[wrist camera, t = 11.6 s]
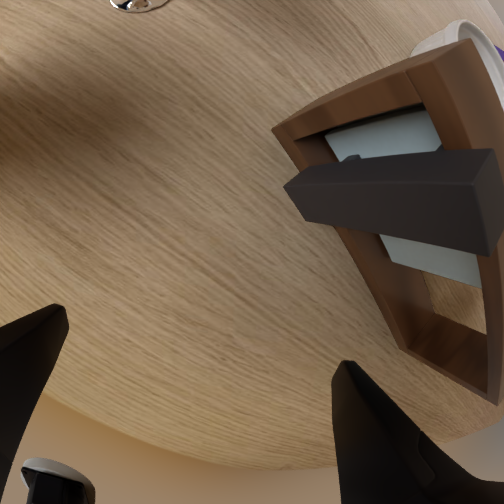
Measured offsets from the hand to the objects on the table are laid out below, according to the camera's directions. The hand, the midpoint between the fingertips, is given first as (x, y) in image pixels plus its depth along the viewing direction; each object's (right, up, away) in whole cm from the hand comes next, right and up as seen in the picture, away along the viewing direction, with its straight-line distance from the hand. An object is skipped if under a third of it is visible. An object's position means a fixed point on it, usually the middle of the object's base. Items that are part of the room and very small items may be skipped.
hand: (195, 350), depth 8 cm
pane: (+7, +5, +9) cm, 13 cm away
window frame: (+11, +3, +12) cm, 17 cm away
